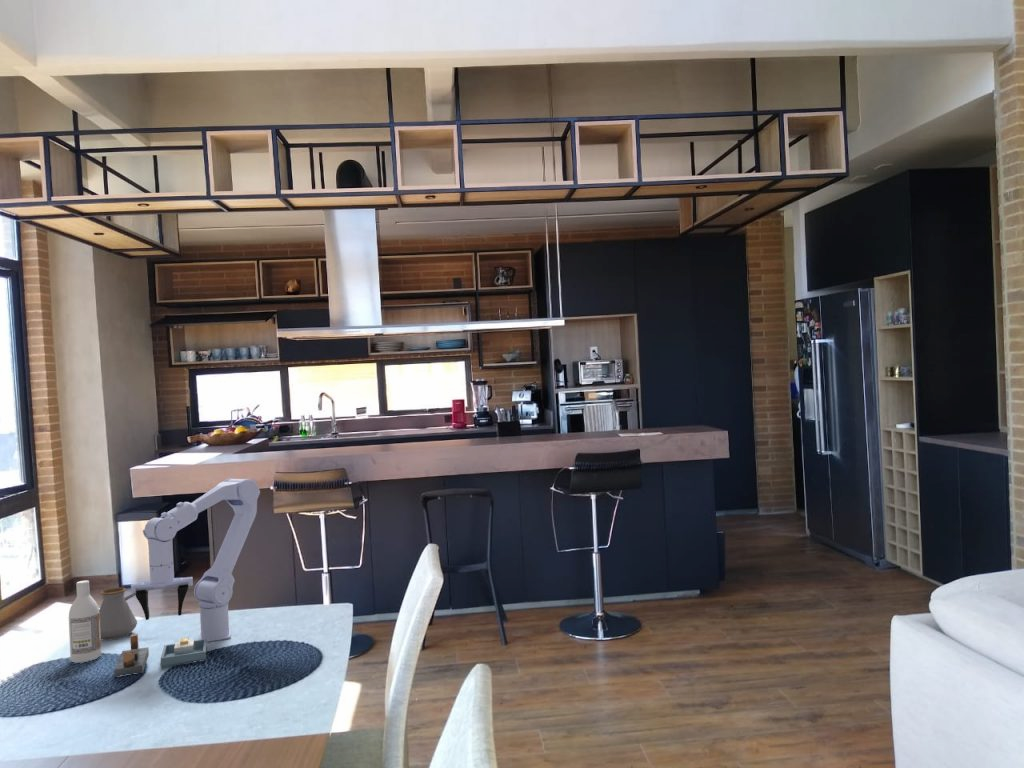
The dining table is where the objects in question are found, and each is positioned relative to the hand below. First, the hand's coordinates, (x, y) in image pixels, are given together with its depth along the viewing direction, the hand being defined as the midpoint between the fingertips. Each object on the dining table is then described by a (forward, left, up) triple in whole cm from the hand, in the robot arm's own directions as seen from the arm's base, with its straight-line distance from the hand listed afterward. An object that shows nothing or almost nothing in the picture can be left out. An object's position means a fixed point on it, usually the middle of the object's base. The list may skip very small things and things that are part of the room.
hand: (163, 616), depth 199 cm
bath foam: (-5, -19, -10) cm, 22 cm away
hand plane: (+7, -7, -9) cm, 14 cm away
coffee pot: (-26, -10, -10) cm, 29 cm away
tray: (+7, +5, -9) cm, 13 cm away
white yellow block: (+7, +5, -9) cm, 12 cm away
